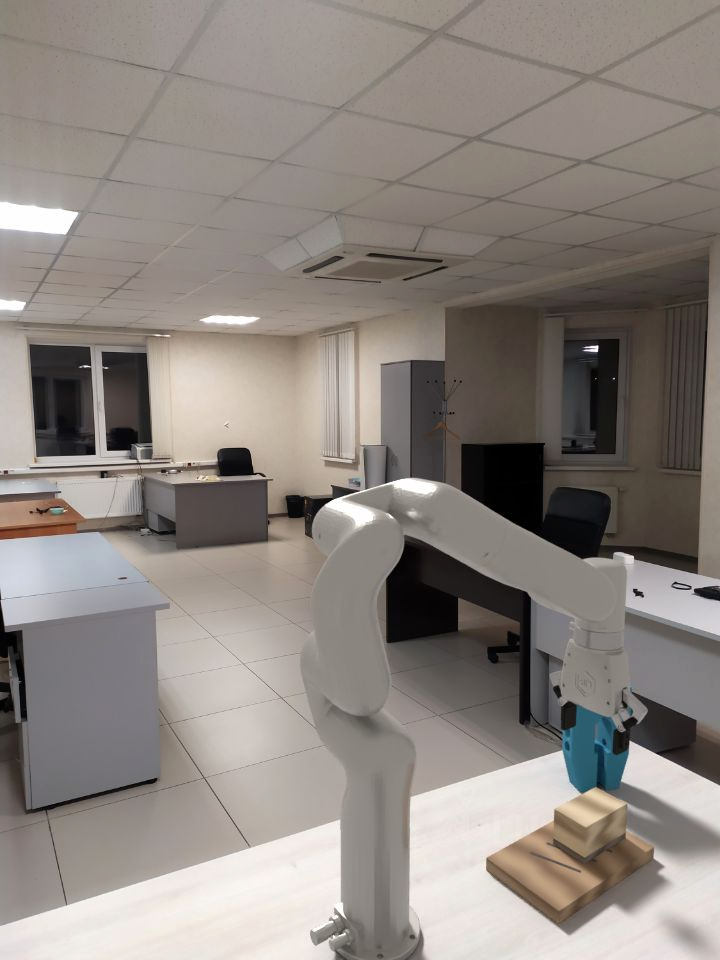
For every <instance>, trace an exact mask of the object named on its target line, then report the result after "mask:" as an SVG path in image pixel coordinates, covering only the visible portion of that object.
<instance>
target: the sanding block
mask: <svg viewBox="0 0 720 960" xmlns="http://www.w3.org/2000/svg"><path fill="white" fill-rule="evenodd" d="M553 810H554V811H553V813H554V814H553V821H554V832H553V844H554V845H556V846H557V847H559V848H561V849H562V850H564V851H565V852H567V853H568V854H570V855H572V856H573V857H575V858H576V859H578V860H579V861H581V862H583V863H584V864H585V863H586V862H588V861H590V860H591V859H593V858H594V857H596V856H598V855H599V854H601V853H602V852H604V851H606V850H607V849H609V848H610V847H612V846H613V845H615V844H617V843H618V842H620V841H621V840H623V839H625V838H626V831H627V818H628V816H627V815H628V814H627V813H628V803H627V802H625V801H623V800H621V799H620V798H618V797H615V796H614V795H611V794H610V793H608V792H606V791H604V790H602V789H600V788H598V787H597V786H596V787H595V788H593V789H591V790H589V791H587V792H585V793H583V792H582V794H580V795H578V796H575V797H574V798H572V799H570V800H569V801H567V802H565V803H563V804H561V805H559V806H557V807H555V808H554V809H553Z"/></svg>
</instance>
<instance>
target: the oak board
mask: <svg viewBox="0 0 720 960" xmlns="http://www.w3.org/2000/svg"><path fill="white" fill-rule="evenodd" d="M553 832H554V820H552V821H550V822H548V823H546V824H545V825H543V826H541V827H540V828H537V829H535V830H534V831H532V832H531V833H529V834H527V835H525V836H523V837H521V838H520V839H517V840H515V841H514V842H512V843H511V844H509V845H507V846H505V847H504V848H501V849H499V850H498V851H495V852H494V853H493V854H490V855H488V856H487V857H486V859H485V870H486V871H488V873H490V874H491V875H493V876H494V877H495V878H497V879H498V880H499V881H501V882H502V883H503V884H505V886H507V887H509V888H510V889H512V890H513V892H515V893H517V894H518V895H520V897H521V898H523V899H524V900H526V901H527V902H528V903H530V904H531V905H533V907H535V908H536V909H538V910H539V911H540V912H542V913H543V914H545V915H546V916H547V917H548V918H549V919H551V920H552V921H554V922H555V923H556V924H557V925H559V924H561V923H562V922H564V921H565V920H567V919H569V918H570V917H571V916H573V915H574V914H575V913H577V912H579V910H581V909H583V908H584V907H586V906H587V905H588V904H590V903H591V902H592V901H594V900H595V899H597V898H598V897H599V896H601V895H603V894H604V893H606V892H607V891H609V890H610V889H611V888H613V887H614V886H616V885H617V884H618V883H620V882H622V881H623V880H625V879H626V878H627V877H628V876H630V875H632V874H633V873H634V872H636V871H637V870H639V869H641V868H642V867H643V866H645V865H646V864H648V863H649V862H650V861H652V860H654V857H655V846H653V845H652V844H650V843H648V842H646V841H645V840H643V839H641V838H639V837H637V836H635V835H634V834H632V833H631V832H629V831H627V830H626V838H625V839H623V840H621V841H620V842H618V843H617V844H615V845H613V846H612V847H610V848H609V849H607V850H606V851H604V852H602V853H601V854H599V855H598V856H596V857H594V858H593V859H591V860H590V861H588V862H586V863H585V864H584V863H583V862H581V861H579V860H578V859H576V858H575V857H573V856H572V855H570V854H568V853H567V852H565V851H564V850H562V849H561V848H559V847H557V846H556V845H554V844H553Z"/></svg>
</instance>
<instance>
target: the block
mask: <svg viewBox="0 0 720 960" xmlns="http://www.w3.org/2000/svg"><path fill="white" fill-rule="evenodd" d="M632 691H633V686H632V684H630V692H631V693H632ZM632 694H633V693H632ZM627 711H628V713H629V715H630V717H631V716H632V708H631V707H630V706H629V707H628V709H627ZM618 714H619V715H620V713H618ZM620 717H621V715H620ZM621 719H622V717H621ZM622 721H623V719H622ZM623 722H624V721H623ZM596 726H597V728H596ZM615 729H617V727H616V725H615V723H614V721H613V720H612V718H611V717H606V716H603V715H600V714H598V713H595V712H593V711H590V710H588V709H586V708H583V707H581V706H579V705H577V713H576V726H575V727H573V728H570V729H568V730H565V731H564V730H562V744H561V745H562V748H561V750H562V754H563V758H564V763H565V767H566V771H567V775H568V776H567V777H568V780H569V782H570V784H571V785H573V786H574V787H575V789H576V790H577V791H578V792H580V793H582V794H583V793H585V792H587V791H589V790H591V789H593V788H595V787H597V783H599V784H600V785H601V786H602V787H603V789H605V790H606V791H608V790H609V791H610V790H617V789H618V790H619V788H620V784H621V782H622V779H623V775H624V773H625V768H626V765H627V763H628V762H627V761H628V759H629V755H630V747H629V748H628V750H627V751H625V752H623V753H621V754H619V755H615V754H613V752H612V749H613V731H614V730H615Z"/></svg>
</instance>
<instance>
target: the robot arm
mask: <svg viewBox="0 0 720 960" xmlns="http://www.w3.org/2000/svg"><path fill="white" fill-rule="evenodd" d="M311 536H312V539H313V542H314V544H315V546H316V548H317V549H318V550H319V551H320V552H321V553H322V554H323V555H325V556H326V557H327V559H325V561H324V563H323V564H322V567H321V568H320V570H319V572H318V574H317V576H316V578H315V581H314V583H313V586H312V588H311V593H310V598H309V608H310V609H309V610H310V617H311V623H312V627H313V631H311V632H310V633H309V634H308V636H307V637H306V639H305V641H304V642H303V645H302V647H301V651H300V657H299V667H300V673H301V677H302V682H303V685H304V690H305V694H306V697H307V698H306V699H307V701H308V705H309V709H310V713H311V716H312V720H313V723H314V724H313V725H314V727H315V729H316V732H317V736H318V737H319V740H320V741H321V743H322V744H323V746H324V747H325V749H326V750H327V751H328V752H329V753H330V754H331V756H332V757H333V758H334V759H335V760H336V762H337V763H338V764H339V766H341V768H342V770H343V771H344V774H345V777H346V786H345V790H344V793H343V796H342V799H341V802H340V804H341V805H340V813H339V814H340V818H339V821H340V822H339V827H340V828H339V829H340V830H339V831H340V902H338V903H337V904H334V905H333V911H334V912H333V913H332V914H331V916H330V917H328V922H326V923H322V924H319V925H318V926H315V927H314V928H312V929H310V930H309V936H310V939H311V942H312V943H313V945H314V946H316V947H317V946H318V945H320V944H322V943H324V942H326V941H327V940H328V946H329V949H330V950H331V951H332V952H337V953H339V955H340V956H341V957H343V958H344V959H346V960H406V959H408V958H409V957H410V956H411V955H412V954H413V953H414V952H415V951H416V949H417V947H418V945H419V943H420V940H421V923H420V919H419V917H418V914H417V912H416V911H415V910H414V909H413V907H412V906H411V905H410V887H411V886H410V883H411V882H410V878H411V876H410V868H411V867H410V866H411V863H410V862H411V861H410V860H411V858H410V857H411V852H410V851H411V824H410V823H411V797H412V791H413V784H414V780H415V775H416V769H417V764H418V753H417V752H418V751H417V747H416V744H415V742H414V740H413V738H412V736H411V734H410V732H409V731H408V730H407V729H406V727H405V726H404V725H403V724H402V722H400V720H398V719H397V718H395V716H393V715H392V714H391V713H390V712H388V710H386V708H384V707H385V706H386V704H387V702H388V701H389V698H390V697H391V691H392V681H393V680H392V675H391V668H390V664H389V660H388V656H387V651H386V648H385V644H384V643H385V642H384V639H383V636H382V631H381V627H380V621H379V616H378V607H377V602H378V601H377V600H378V595H379V592H380V590H381V588H382V585H383V584H384V582H385V581H386V579H387V578H388V576H389V575H390V574H391V573H392V571H393V570H394V568H395V567H396V566H397V564H398V563H399V561H400V559H401V557H402V556H403V555H402V554H403V552H404V548H405V536H409V537H412V538H414V539H417V540H420V541H423V542H424V543H426V544H428V545H430V546H431V547H432V546H433V548H436V549H437V550H439V551H441V552H442V553H444V554H446V555H449V556H450V557H452V558H453V559H455V560H457V561H459V562H460V563H462V564H465V565H466V566H467V567H470V568H471V569H473V570H475V571H477V572H478V573H480V574H481V575H484V576H485V577H488V578H490V579H492V580H494V581H497V582H499V583H501V584H503V585H506V586H509V587H512V588H515V589H519V590H521V591H524V592H526V593H527V594H528V596H529V597H530V598H531V599H532V600H533V601H534V602H535V603H536V604H539V605H541V606H542V607H544V608H547V609H549V610H552V611H554V612H556V613H557V612H558V613H561V614H563V615H566V616H567V617H570V618H573V619H574V621H570V622H569V623H568V629H569V630H571V631H573V634H572V637H573V638H569V640H568V642H567V645H566V649H565V653H564V656H563V657H564V658H563V663H562V669H561V670H558V671H554V672H550V673H549V679H550V682H551V684H552V686H553V688H552V691H553V693H554V694H555V696H556V698H557V703H558V705H559V706H560V707H561V708H560V730H561V731H563V730H564V731H565V730H568V729H570V728H573V727H575V726H576V713H577V705H579V706H581V707H583V708H586V709H588V710H590V711H593V712H595V713H598V714H600V715H603V716H606V717H611V718H612V720H613V721H614V723H615V725H616V727H617V729H615V730H614V731H613V749H612V752H613V754H615V755H619V754H621V753H623V752H625V751H627V750H628V748H629V749H630V741H631V729H632V728H634V727H635V726H637V725H639V724H641V723H642V721H643V719H644V718H645V716H646V715H647V713H648V711H649V710H648V708H647V706H646V705H644V704H643V702H641V701H640V700H639V699H638V698H637V697H636V696H635V695H634V694H633V693H631V692H630V685H631V675H630V663H629V657H628V652H627V649H626V648H624V642H625V641H624V640H625V623H626V622H625V620H626V619H625V618H626V604H627V603H626V602H627V601H626V600H627V584H628V583H627V581H628V570H627V567H626V565H625V564H624V563H622V562H621V561H619V560H616V559H612V558H608V557H607V558H606V557H587V558H580V557H578V555H577V556H576V555H575V554H573V553H572V552H569V551H567V550H565V549H564V548H563V547H562V548H561V547H559V546H557V545H555V544H553V543H552V542H549V541H548V540H546V539H544V538H542V537H540V536H538V535H536V534H535V533H533V532H532V531H529V530H527V529H525V528H523V527H521V526H520V525H517V524H516V523H513V522H512V521H510V520H509V519H507V518H505V517H503V516H502V515H501V514H499V513H497V512H495V511H494V510H492V509H490V508H489V507H487V506H486V505H484V504H483V503H481V502H479V501H478V500H476V498H475V499H474V498H473V497H471V496H470V495H469V494H466V493H465V492H463V491H462V490H460V489H458V488H457V487H454V486H452V485H450V484H448V483H445V482H440V481H435V480H429V479H425V478H420V477H407V478H406V477H405V478H402V479H398V480H395V481H391V482H387V483H384V484H380V485H377V486H374V487H371V488H368V489H364V490H362V491H357V492H354V493H350V494H347V495H344V496H341V497H338V498H335V499H333V500H331V501H329V502H327V503H325V504H324V505H323V506H322V507H321V508H320V509H319V510H318V512H317V513H316V514H315V516H314V518H313V522H312V526H311ZM629 706H630V707H631V711H632V713H631V717H630V715H629V713H628V711H627V709H628V707H629ZM618 713H620V715H621V717H622V719H623V721H624V722H623V721H622V719H621V717H620V715H619V714H618ZM329 938H330V939H329Z"/></svg>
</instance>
